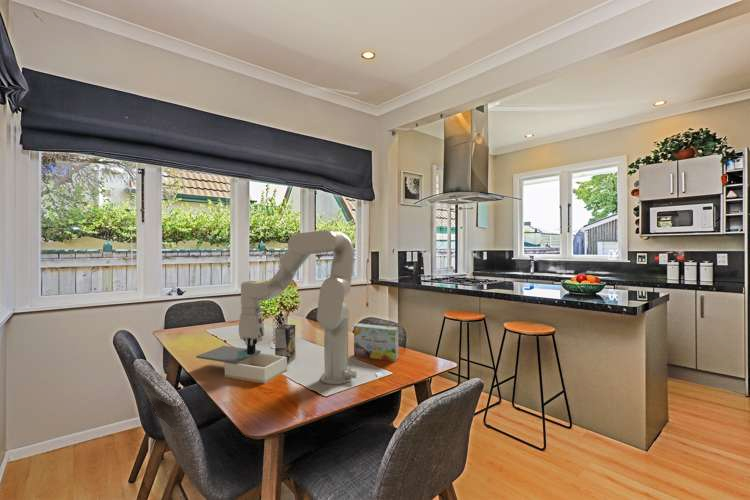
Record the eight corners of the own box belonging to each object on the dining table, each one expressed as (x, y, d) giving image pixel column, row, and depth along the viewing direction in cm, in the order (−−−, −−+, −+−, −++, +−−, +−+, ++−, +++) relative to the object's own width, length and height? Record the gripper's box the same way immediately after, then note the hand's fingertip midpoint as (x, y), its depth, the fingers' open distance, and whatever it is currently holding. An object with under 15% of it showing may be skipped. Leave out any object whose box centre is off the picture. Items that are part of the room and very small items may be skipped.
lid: (260, 352, 167) (260, 343, 167) (235, 363, 153) (235, 354, 153) (223, 347, 175) (223, 339, 175) (196, 357, 160) (196, 348, 160)
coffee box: (288, 364, 170) (287, 329, 169) (274, 363, 171) (274, 328, 170) (296, 358, 179) (295, 324, 178) (283, 357, 180) (283, 323, 179)
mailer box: (287, 370, 162) (286, 357, 162) (264, 383, 148) (264, 368, 148) (249, 365, 169) (249, 351, 169) (224, 376, 155) (224, 362, 155)
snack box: (353, 356, 181) (353, 325, 180) (358, 353, 186) (358, 322, 186) (395, 362, 173) (395, 329, 173) (399, 358, 178) (399, 326, 178)
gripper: (271, 310, 159) (271, 353, 160) (242, 307, 165) (243, 349, 166) (259, 313, 152) (260, 358, 153) (230, 311, 158) (230, 354, 159)
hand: (251, 353), depth 159 cm, fingers closed
